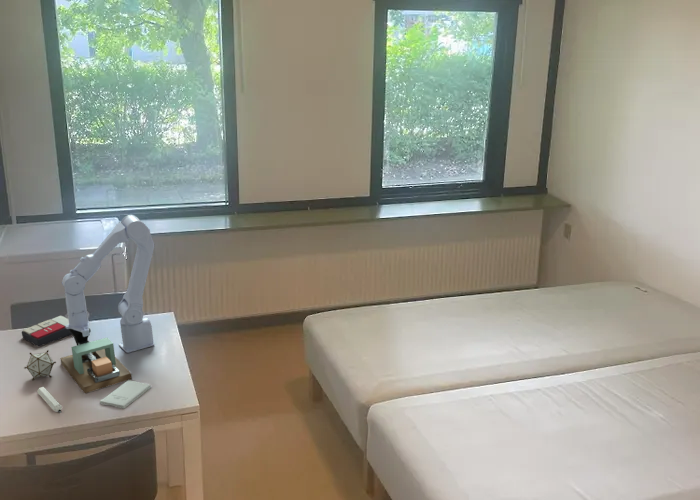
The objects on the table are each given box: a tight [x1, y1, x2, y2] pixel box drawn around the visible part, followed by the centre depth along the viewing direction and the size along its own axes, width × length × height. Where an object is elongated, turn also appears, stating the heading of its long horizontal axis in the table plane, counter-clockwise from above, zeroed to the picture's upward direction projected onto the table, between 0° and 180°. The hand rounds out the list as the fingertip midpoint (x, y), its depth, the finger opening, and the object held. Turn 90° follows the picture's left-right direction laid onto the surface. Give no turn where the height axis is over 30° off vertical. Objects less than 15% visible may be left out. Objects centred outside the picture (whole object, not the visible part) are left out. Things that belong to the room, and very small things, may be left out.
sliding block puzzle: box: [21, 315, 73, 347], centre depth 235 cm, size 11×4×15 cm
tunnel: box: [71, 337, 116, 374], centre depth 208 cm, size 11×6×7 cm, turn 128°
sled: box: [78, 339, 120, 383], centre depth 208 cm, size 7×22×4 cm, turn 38°
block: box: [92, 357, 113, 376], centre depth 202 cm, size 4×4×4 cm
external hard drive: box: [99, 380, 152, 409], centre depth 195 cm, size 2×8×12 cm
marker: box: [37, 386, 63, 414], centre depth 191 cm, size 3×2×16 cm
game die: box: [23, 349, 57, 381], centre depth 205 cm, size 9×8×10 cm
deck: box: [60, 349, 133, 394], centre depth 209 cm, size 14×24×2 cm, turn 38°
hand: (82, 349), depth 218 cm, fingers closed
